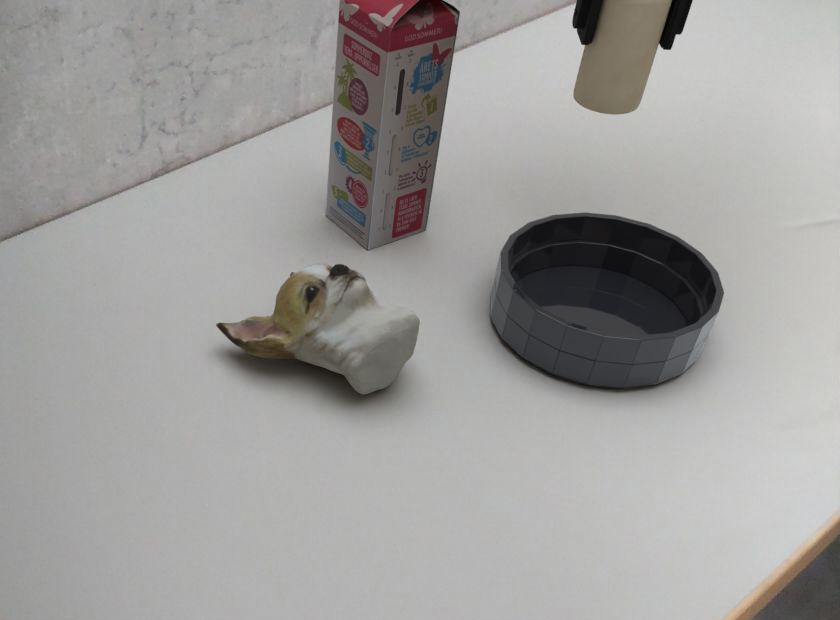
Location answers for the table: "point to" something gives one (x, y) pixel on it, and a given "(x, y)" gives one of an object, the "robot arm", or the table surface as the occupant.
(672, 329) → the pan
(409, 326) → the ceramic sculpture
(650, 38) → the candle
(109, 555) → the table surface
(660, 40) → the robot arm
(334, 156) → the juice carton
